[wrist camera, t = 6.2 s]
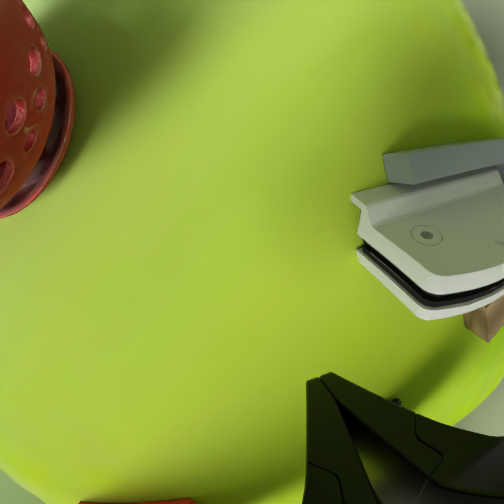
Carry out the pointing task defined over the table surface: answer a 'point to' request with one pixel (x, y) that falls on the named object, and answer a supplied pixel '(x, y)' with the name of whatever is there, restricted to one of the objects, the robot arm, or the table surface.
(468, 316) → the spacer block
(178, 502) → the file binder
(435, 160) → the channel jig
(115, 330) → the table surface
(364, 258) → the hinge
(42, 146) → the plant pot
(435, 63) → the table surface
